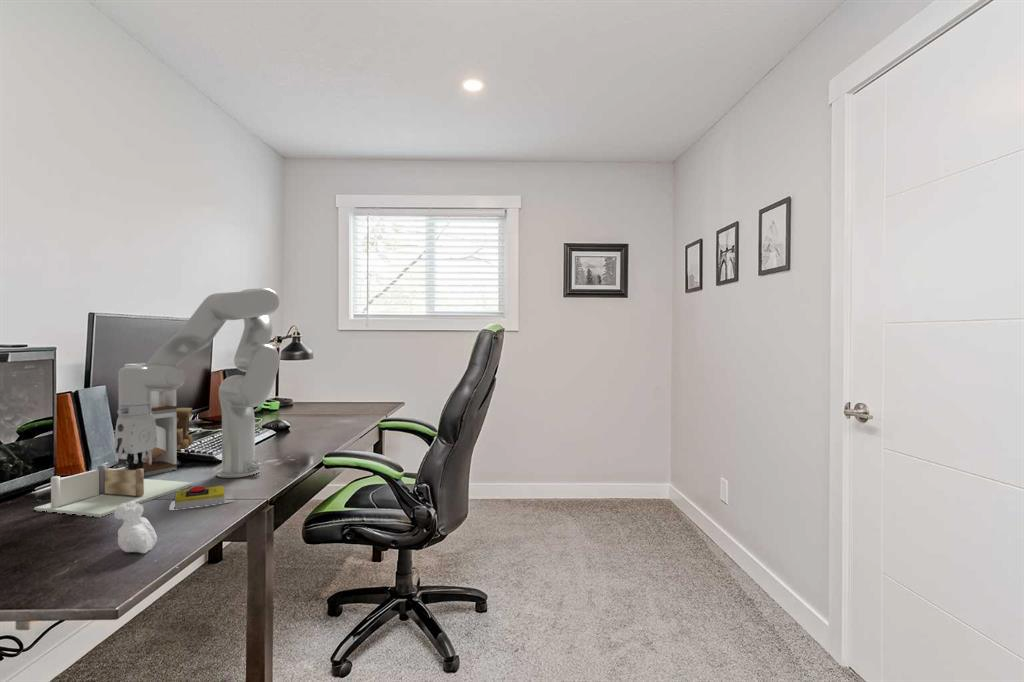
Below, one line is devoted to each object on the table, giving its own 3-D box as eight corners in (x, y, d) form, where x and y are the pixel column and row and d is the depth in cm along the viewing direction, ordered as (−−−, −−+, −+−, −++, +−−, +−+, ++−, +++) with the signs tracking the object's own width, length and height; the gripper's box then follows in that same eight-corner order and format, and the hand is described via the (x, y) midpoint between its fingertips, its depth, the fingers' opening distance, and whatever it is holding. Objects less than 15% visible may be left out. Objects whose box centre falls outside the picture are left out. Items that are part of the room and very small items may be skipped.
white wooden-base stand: (125, 471, 179) (124, 364, 178) (161, 465, 188) (160, 362, 187) (140, 476, 172) (139, 365, 172) (176, 470, 181) (176, 364, 181)
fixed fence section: (103, 491, 153) (102, 464, 153) (108, 492, 153) (108, 464, 153) (48, 508, 139) (48, 477, 139) (55, 508, 139) (54, 478, 139)
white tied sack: (138, 550, 121) (98, 514, 117) (170, 524, 123) (133, 489, 120) (133, 570, 110) (90, 532, 107) (168, 542, 113) (127, 504, 110)
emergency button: (170, 487, 148) (232, 480, 155) (170, 503, 148) (232, 495, 155) (167, 496, 140) (233, 488, 147) (167, 513, 140) (233, 504, 147)
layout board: (194, 485, 163) (193, 482, 163) (100, 517, 135) (100, 513, 135) (136, 480, 168) (136, 477, 168) (34, 510, 140) (34, 507, 140)
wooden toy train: (160, 452, 208) (160, 408, 207) (195, 449, 212) (194, 406, 212) (149, 464, 189) (149, 415, 189) (187, 461, 194) (187, 414, 194)
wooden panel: (103, 493, 151) (103, 467, 151) (109, 491, 153) (109, 466, 153) (139, 496, 148) (139, 470, 148) (145, 494, 150) (145, 468, 150)
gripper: (124, 415, 145) (125, 484, 145) (168, 407, 159) (168, 470, 160) (99, 414, 146) (100, 483, 146) (144, 406, 160) (145, 469, 161)
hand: (135, 476), depth 153 cm, fingers closed
